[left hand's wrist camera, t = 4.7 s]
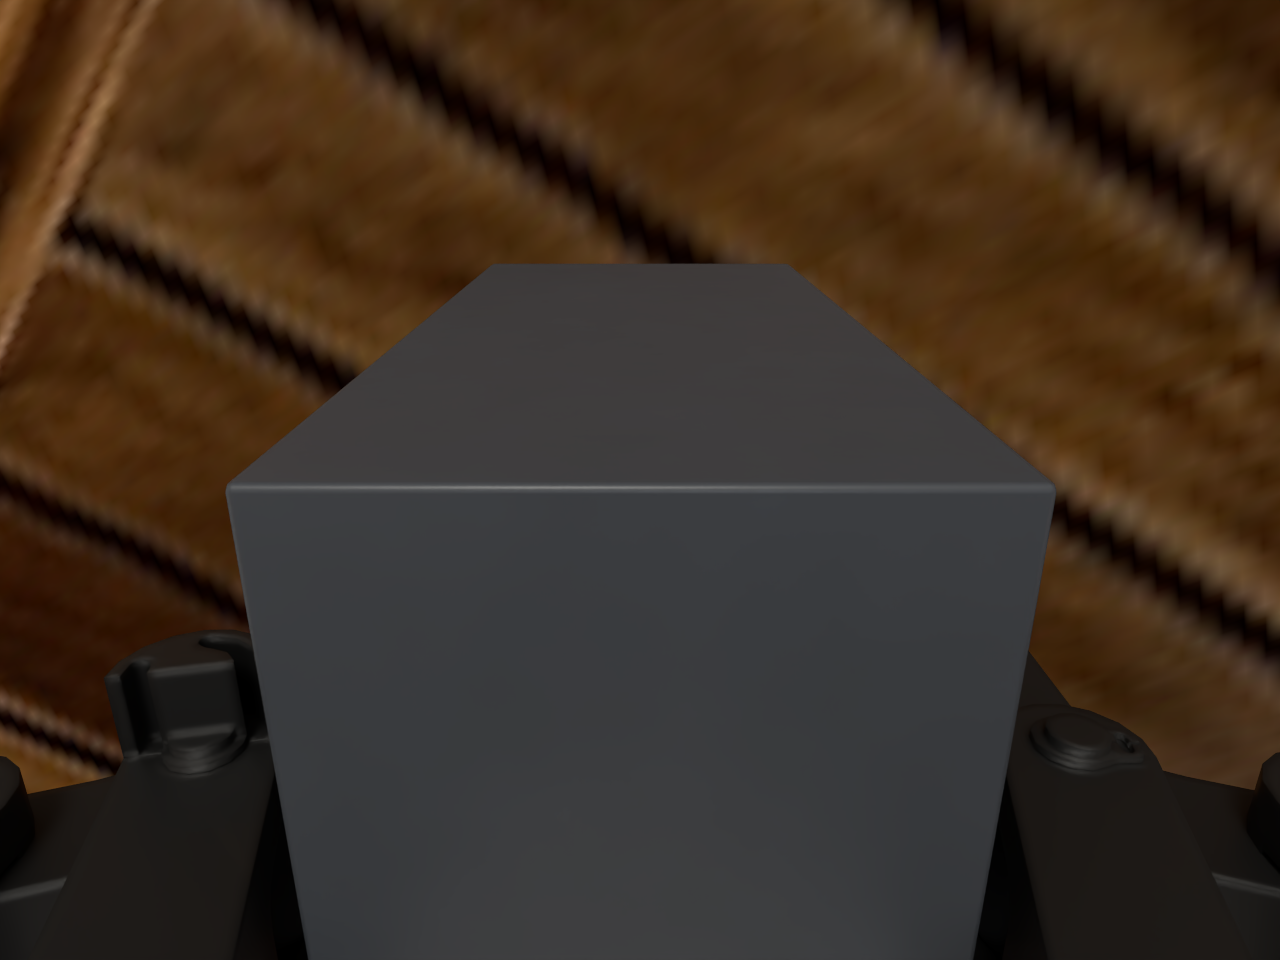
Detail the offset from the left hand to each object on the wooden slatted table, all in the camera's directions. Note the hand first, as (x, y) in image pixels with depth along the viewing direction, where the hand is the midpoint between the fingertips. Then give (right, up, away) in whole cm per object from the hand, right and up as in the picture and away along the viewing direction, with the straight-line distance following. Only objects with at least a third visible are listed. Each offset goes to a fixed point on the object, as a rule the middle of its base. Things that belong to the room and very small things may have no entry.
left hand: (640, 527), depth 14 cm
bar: (0, -7, +3) cm, 7 cm away
